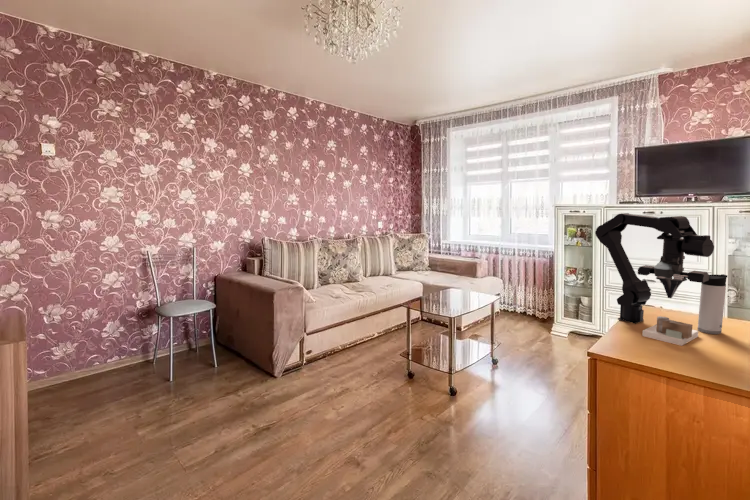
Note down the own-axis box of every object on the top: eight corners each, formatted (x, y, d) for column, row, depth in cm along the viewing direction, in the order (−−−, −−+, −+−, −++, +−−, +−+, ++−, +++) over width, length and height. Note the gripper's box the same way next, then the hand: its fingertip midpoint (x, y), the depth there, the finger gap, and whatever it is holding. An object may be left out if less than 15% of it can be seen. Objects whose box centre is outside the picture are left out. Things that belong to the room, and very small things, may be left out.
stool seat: (642, 335, 130) (643, 324, 129) (659, 327, 137) (660, 317, 137) (681, 345, 121) (682, 333, 120) (698, 336, 128) (699, 325, 128)
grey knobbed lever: (654, 330, 128) (655, 317, 127) (659, 328, 130) (659, 315, 129) (687, 338, 120) (688, 324, 120) (691, 336, 122) (692, 322, 121)
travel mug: (727, 334, 129) (732, 276, 126) (704, 334, 130) (709, 276, 127) (714, 328, 135) (720, 273, 132) (693, 327, 136) (698, 272, 134)
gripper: (631, 252, 133) (629, 296, 136) (698, 258, 118) (694, 307, 120) (646, 249, 139) (643, 291, 141) (711, 255, 124) (707, 302, 126)
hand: (669, 297), depth 132 cm, fingers closed
